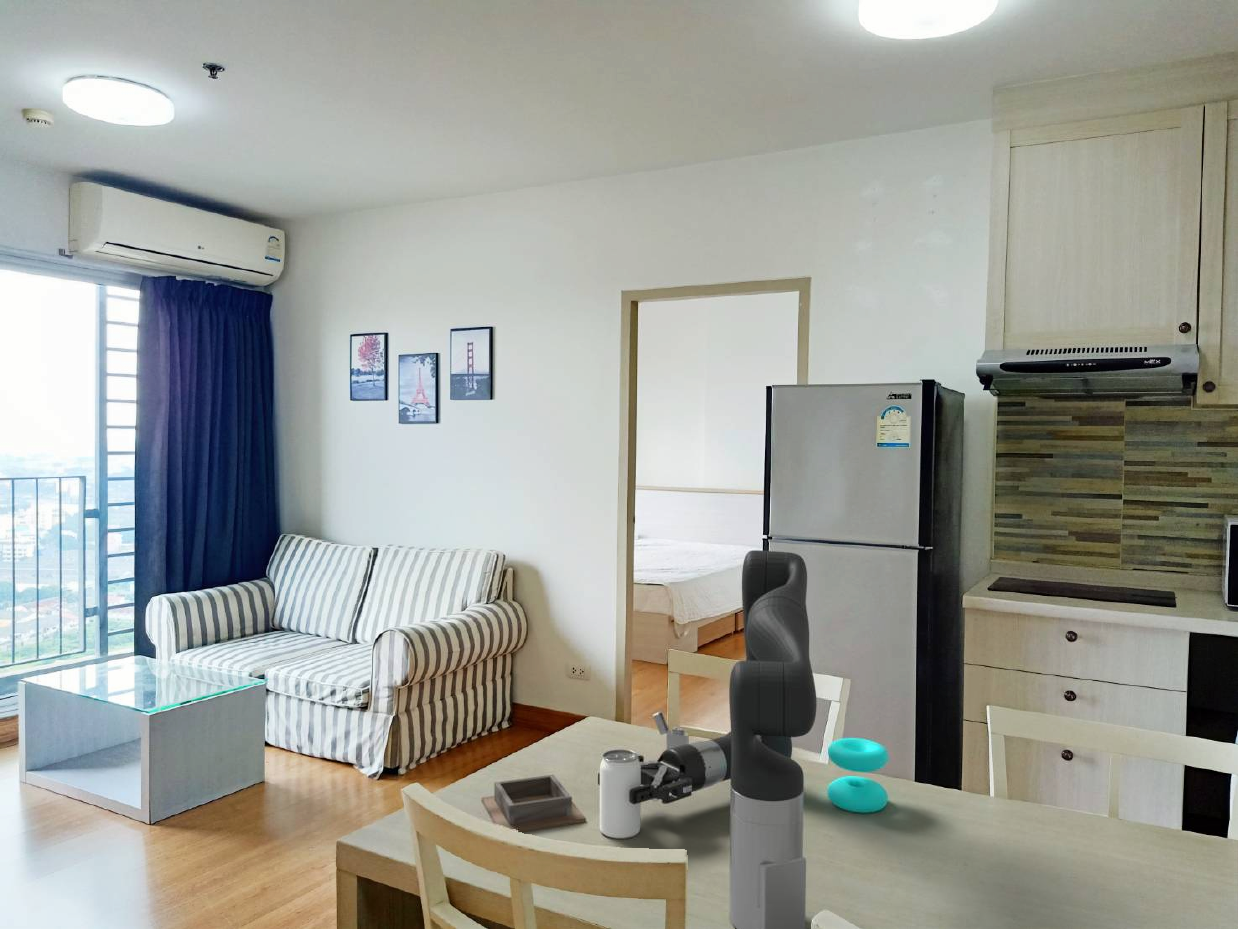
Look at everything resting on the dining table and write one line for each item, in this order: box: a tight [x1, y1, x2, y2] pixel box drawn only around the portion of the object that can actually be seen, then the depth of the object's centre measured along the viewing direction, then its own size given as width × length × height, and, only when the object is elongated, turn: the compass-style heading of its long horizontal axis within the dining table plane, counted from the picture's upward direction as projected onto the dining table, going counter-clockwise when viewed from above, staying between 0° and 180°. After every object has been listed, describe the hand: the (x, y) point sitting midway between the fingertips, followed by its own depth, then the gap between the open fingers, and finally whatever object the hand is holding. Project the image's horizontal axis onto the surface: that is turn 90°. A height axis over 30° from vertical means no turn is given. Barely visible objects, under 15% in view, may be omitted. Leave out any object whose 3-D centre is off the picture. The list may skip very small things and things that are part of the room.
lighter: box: [652, 710, 690, 750], centre depth 173 cm, size 7×2×8 cm, turn 65°
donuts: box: [826, 737, 889, 813], centre depth 149 cm, size 10×10×10 cm
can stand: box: [481, 774, 587, 833], centre depth 145 cm, size 14×14×4 cm
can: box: [599, 749, 642, 840], centre depth 138 cm, size 6×6×12 cm
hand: (614, 788), depth 137 cm, fingers open, 8 cm apart
